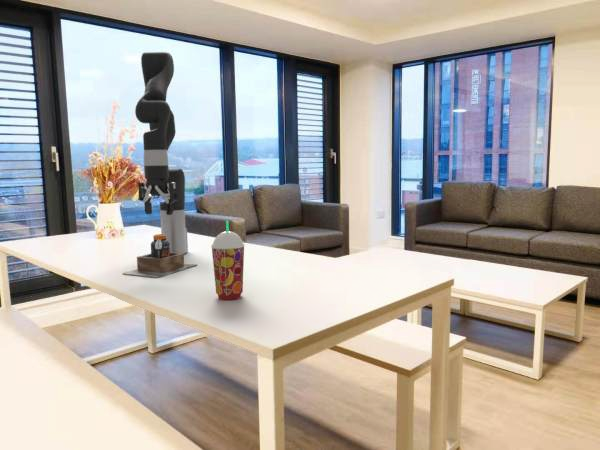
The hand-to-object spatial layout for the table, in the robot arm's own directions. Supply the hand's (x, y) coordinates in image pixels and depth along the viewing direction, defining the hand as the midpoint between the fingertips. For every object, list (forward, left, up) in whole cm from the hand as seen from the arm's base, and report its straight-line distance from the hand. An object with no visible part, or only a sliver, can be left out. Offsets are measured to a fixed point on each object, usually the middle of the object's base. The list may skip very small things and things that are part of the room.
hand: (159, 214), depth 158 cm
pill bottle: (0, 0, -18) cm, 18 cm away
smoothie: (+20, +40, -19) cm, 48 cm away
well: (0, 0, -18) cm, 18 cm away
